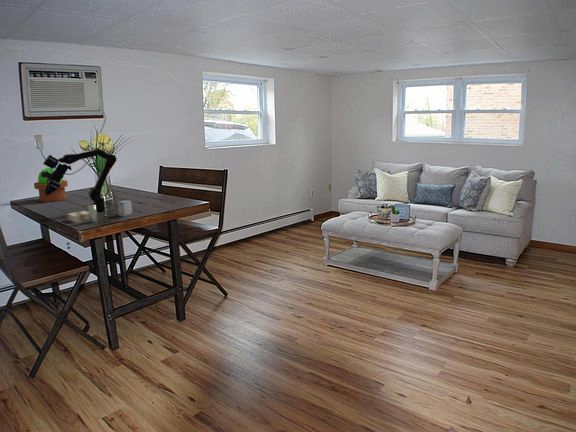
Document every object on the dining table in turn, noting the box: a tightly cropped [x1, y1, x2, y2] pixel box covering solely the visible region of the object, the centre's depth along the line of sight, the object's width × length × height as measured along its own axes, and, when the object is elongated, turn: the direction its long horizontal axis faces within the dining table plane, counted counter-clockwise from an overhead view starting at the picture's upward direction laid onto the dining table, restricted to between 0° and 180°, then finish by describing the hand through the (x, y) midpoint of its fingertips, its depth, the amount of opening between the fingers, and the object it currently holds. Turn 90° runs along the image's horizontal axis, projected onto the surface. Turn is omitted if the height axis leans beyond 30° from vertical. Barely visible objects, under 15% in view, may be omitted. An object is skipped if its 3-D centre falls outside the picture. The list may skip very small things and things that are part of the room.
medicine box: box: [117, 199, 133, 217], centre depth 274 cm, size 8×4×9 cm, turn 163°
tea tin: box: [86, 204, 99, 224], centre depth 257 cm, size 5×5×10 cm
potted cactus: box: [33, 167, 69, 203], centre depth 329 cm, size 22×22×25 cm
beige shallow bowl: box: [66, 210, 89, 224], centre depth 264 cm, size 11×11×4 cm
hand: (45, 194), depth 269 cm, fingers open, 9 cm apart
